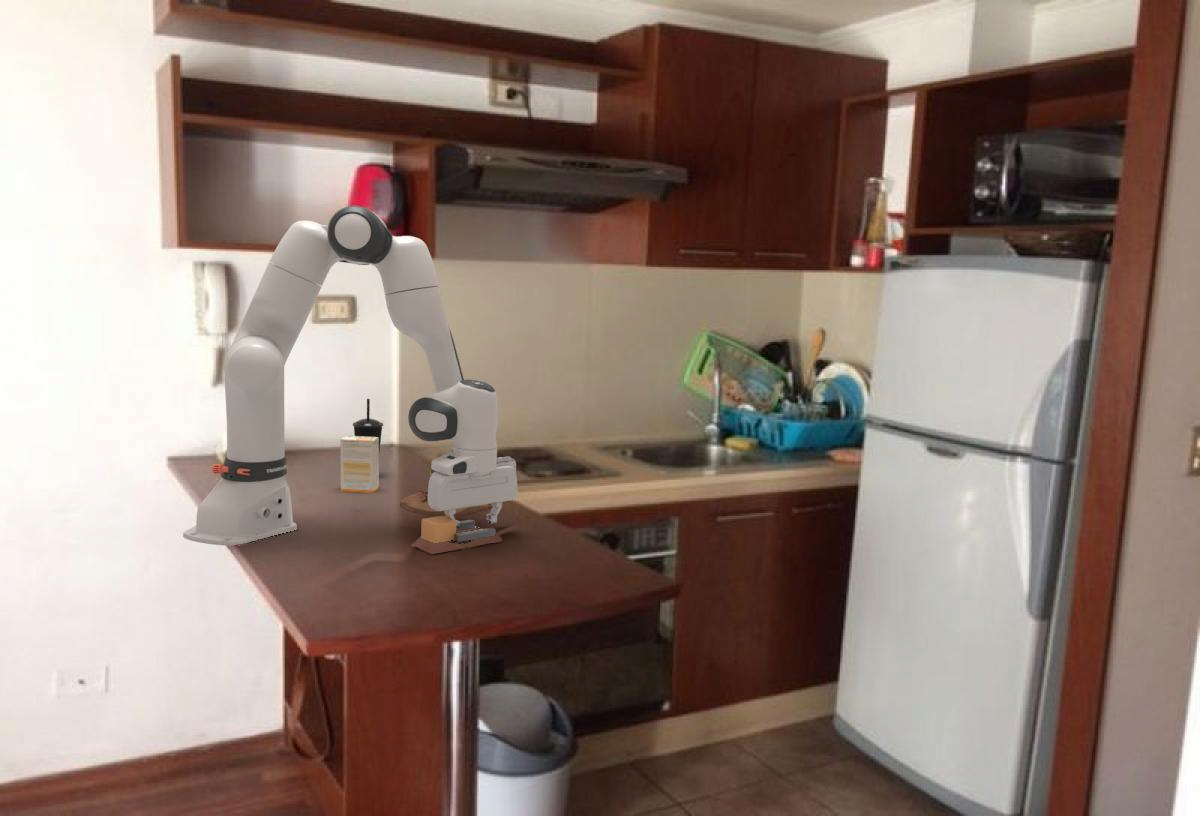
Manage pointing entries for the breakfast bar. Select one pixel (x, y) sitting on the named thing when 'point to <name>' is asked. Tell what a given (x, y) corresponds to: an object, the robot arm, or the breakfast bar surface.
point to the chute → (472, 534)
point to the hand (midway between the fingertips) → (473, 526)
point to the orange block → (438, 529)
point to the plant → (420, 505)
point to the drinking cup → (368, 426)
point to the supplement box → (359, 464)
